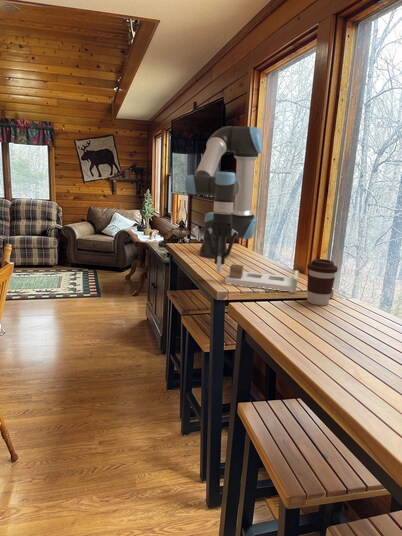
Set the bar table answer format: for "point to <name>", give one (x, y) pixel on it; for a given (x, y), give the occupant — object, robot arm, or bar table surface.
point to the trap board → (266, 281)
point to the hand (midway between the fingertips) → (218, 271)
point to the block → (236, 271)
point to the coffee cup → (320, 281)
